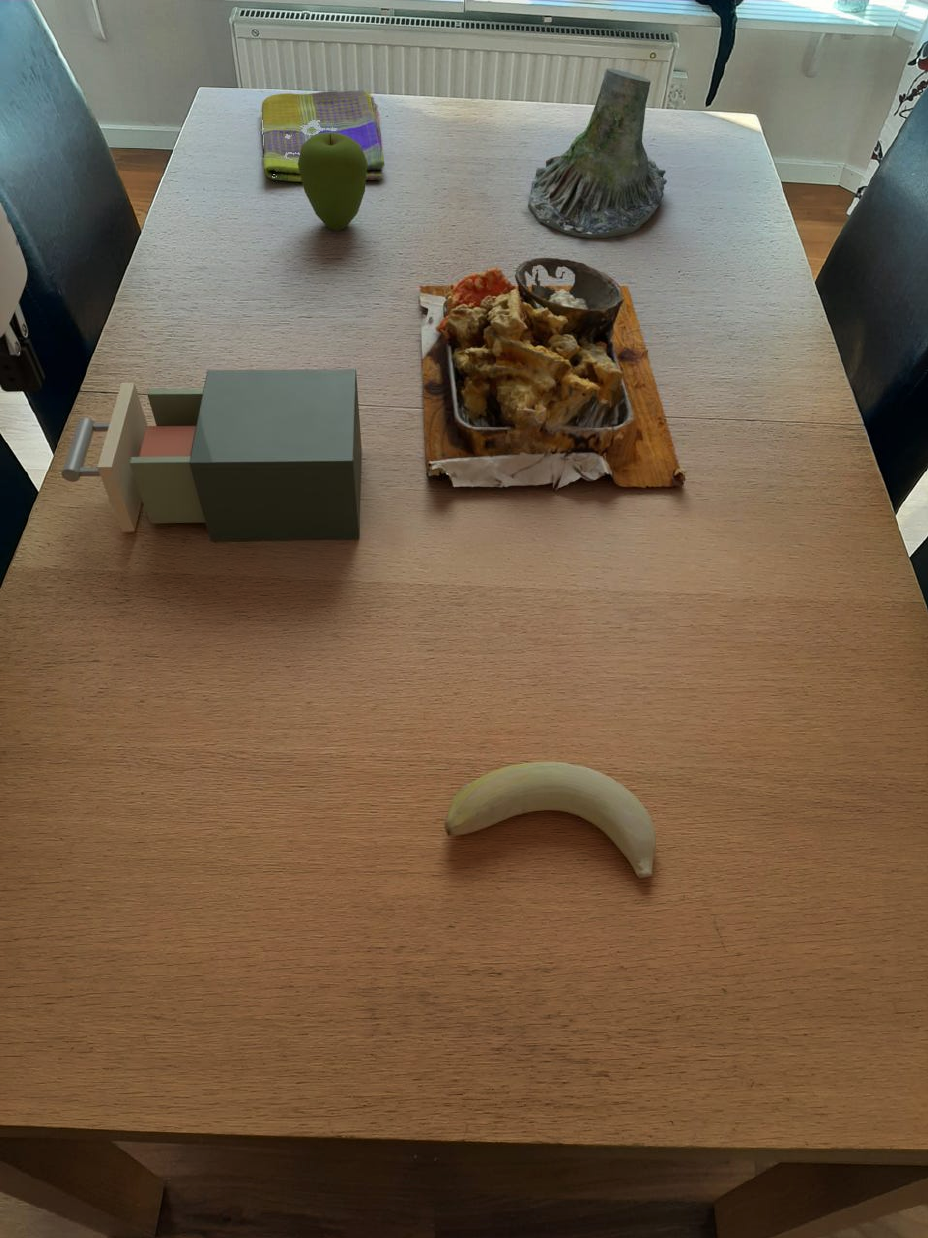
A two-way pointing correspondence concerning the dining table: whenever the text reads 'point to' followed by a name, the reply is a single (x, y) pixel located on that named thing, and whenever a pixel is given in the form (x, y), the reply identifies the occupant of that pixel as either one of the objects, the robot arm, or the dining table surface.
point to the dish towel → (333, 109)
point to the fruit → (558, 805)
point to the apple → (333, 177)
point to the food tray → (540, 383)
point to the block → (168, 441)
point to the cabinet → (279, 455)
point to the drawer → (141, 458)
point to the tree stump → (603, 168)
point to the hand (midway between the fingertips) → (24, 385)
